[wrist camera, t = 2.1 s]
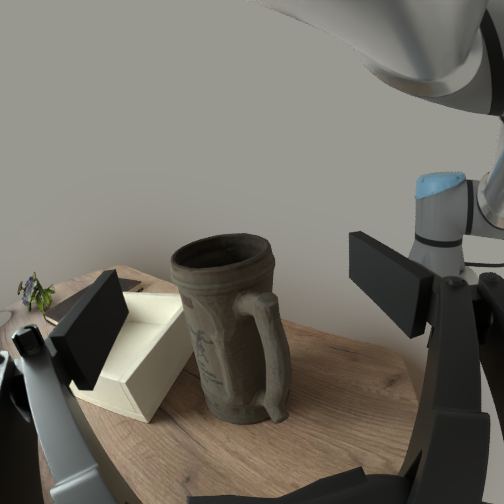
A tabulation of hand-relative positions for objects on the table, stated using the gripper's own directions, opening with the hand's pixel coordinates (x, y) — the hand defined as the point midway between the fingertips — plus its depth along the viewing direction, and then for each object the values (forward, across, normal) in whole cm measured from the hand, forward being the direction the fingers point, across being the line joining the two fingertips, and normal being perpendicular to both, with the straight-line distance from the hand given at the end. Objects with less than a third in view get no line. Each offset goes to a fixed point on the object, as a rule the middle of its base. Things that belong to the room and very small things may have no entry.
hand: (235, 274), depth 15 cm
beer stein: (+10, 0, -22) cm, 24 cm away
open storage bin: (+21, -18, -22) cm, 35 cm away
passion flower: (+47, -56, -22) cm, 77 cm away
